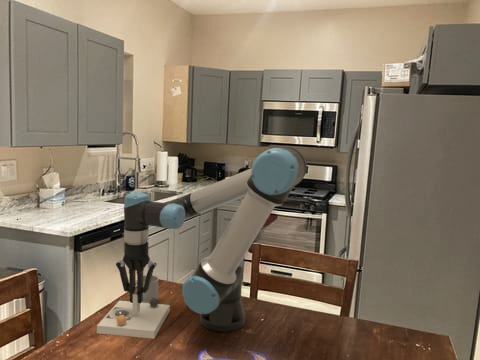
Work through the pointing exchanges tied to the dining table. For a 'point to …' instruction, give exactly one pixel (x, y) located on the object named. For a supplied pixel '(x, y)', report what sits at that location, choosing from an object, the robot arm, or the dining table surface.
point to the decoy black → (153, 302)
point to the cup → (150, 289)
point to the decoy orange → (121, 319)
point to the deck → (134, 320)
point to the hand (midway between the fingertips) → (136, 311)
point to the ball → (120, 313)
